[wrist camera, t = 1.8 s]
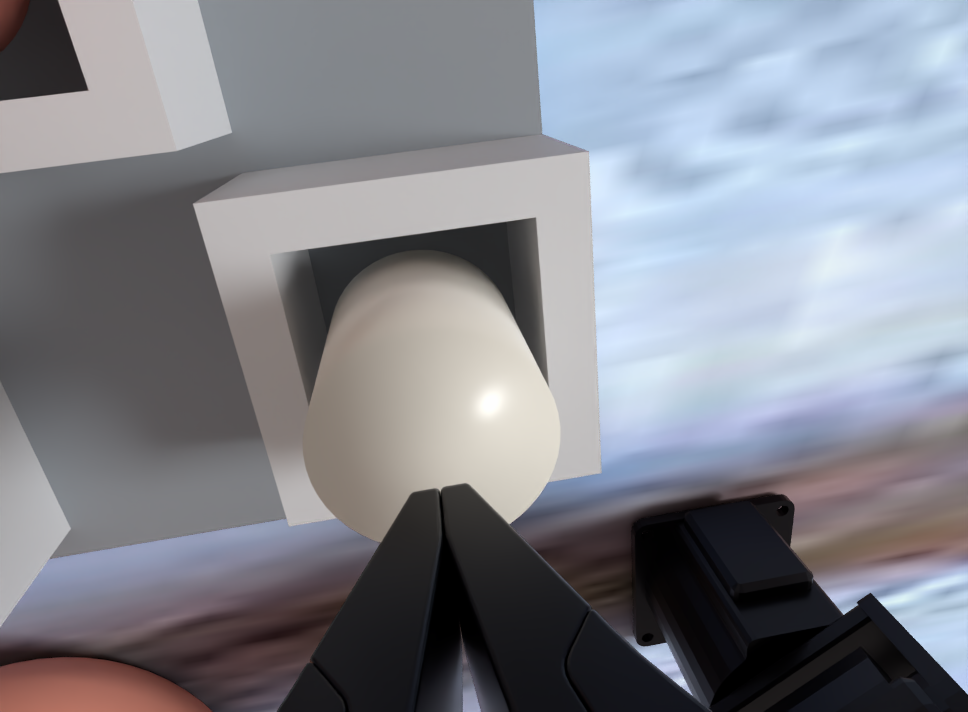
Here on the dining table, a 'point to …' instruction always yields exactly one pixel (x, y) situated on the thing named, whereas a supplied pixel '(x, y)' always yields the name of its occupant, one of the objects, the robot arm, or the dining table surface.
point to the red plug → (11, 19)
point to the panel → (251, 243)
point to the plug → (426, 395)
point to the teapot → (89, 688)
